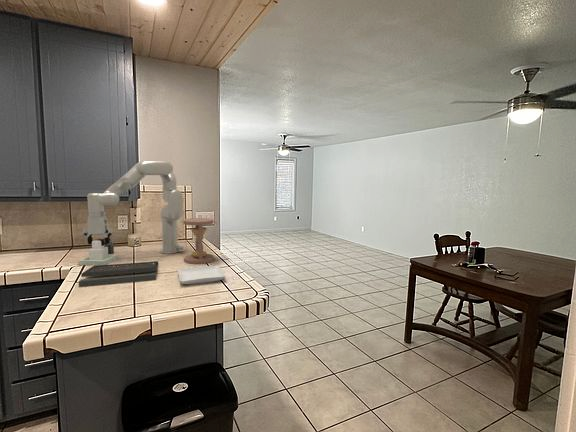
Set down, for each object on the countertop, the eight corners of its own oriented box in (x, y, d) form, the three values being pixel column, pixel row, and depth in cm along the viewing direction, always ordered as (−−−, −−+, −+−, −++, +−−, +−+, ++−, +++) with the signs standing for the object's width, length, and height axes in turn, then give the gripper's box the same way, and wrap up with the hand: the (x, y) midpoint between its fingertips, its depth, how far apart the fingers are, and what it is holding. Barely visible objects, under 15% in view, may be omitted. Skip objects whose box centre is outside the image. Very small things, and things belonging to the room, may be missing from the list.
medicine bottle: (96, 258, 178) (95, 238, 176) (108, 258, 178) (107, 238, 177) (89, 261, 170) (87, 241, 169) (102, 261, 171) (101, 241, 170)
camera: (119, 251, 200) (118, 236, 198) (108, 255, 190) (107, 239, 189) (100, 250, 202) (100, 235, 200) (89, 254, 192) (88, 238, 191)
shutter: (94, 278, 163) (79, 290, 134) (93, 265, 163) (77, 275, 134) (158, 270, 175) (156, 280, 146) (157, 258, 175) (155, 265, 146)
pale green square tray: (117, 259, 181) (117, 255, 181) (103, 265, 167) (103, 261, 167) (94, 258, 181) (94, 254, 181) (78, 265, 167) (78, 260, 167)
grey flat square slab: (176, 274, 156) (176, 268, 155) (218, 270, 164) (218, 264, 164) (179, 288, 137) (179, 280, 136) (226, 282, 145) (226, 276, 145)
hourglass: (213, 263, 176) (213, 221, 173) (182, 264, 173) (181, 221, 170) (214, 256, 193) (214, 217, 191) (186, 257, 190) (185, 217, 187)
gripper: (115, 213, 175) (117, 242, 177) (85, 213, 175) (88, 242, 177) (108, 215, 168) (110, 245, 170) (76, 215, 167) (79, 245, 170)
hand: (98, 244), depth 173 cm, fingers open, 9 cm apart
